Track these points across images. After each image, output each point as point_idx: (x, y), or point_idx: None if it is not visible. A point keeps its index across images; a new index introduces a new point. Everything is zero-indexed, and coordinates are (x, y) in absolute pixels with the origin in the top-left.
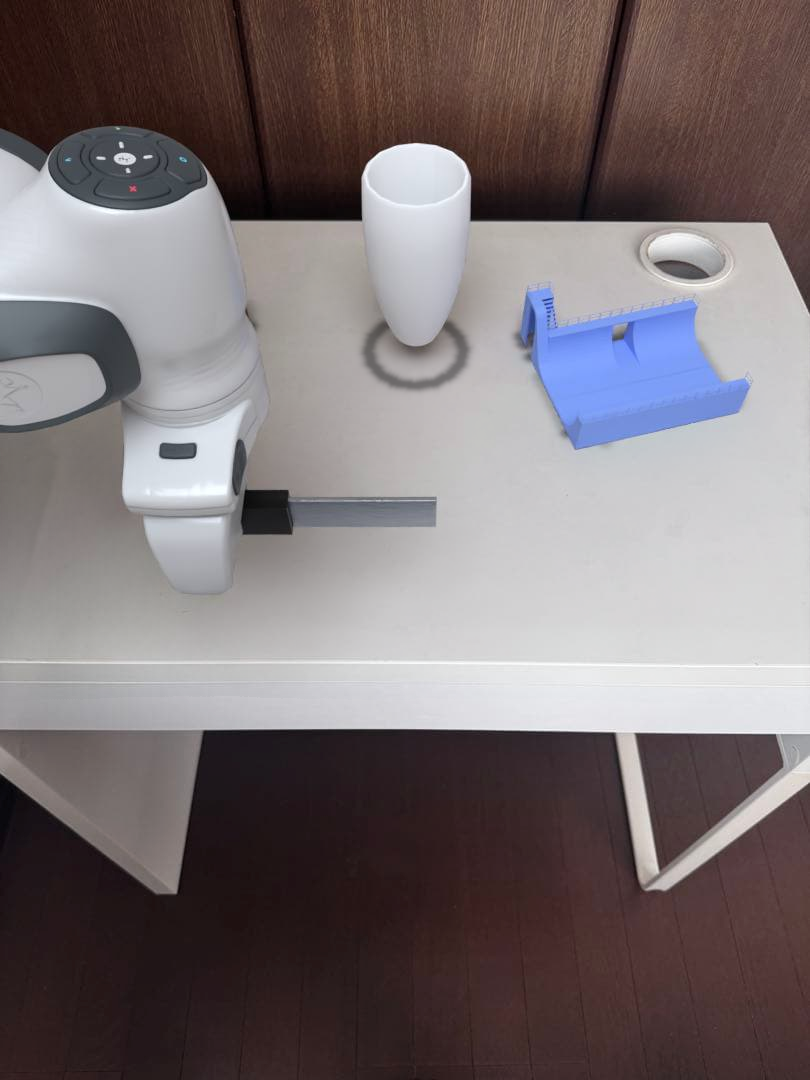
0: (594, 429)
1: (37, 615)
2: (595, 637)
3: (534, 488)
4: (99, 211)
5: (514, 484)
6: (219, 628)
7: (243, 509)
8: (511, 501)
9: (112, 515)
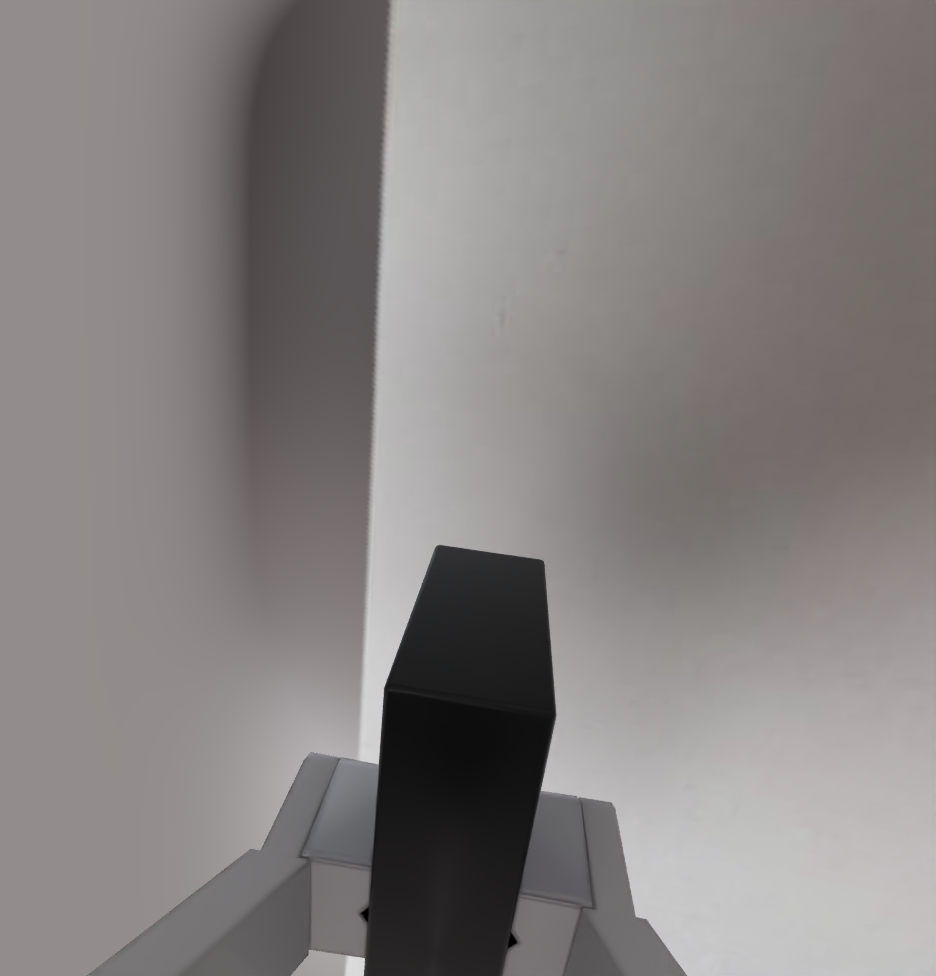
0: None
1: None
2: None
3: (667, 941)
4: None
5: (684, 920)
6: (449, 400)
7: (365, 973)
8: (649, 909)
9: (876, 68)
